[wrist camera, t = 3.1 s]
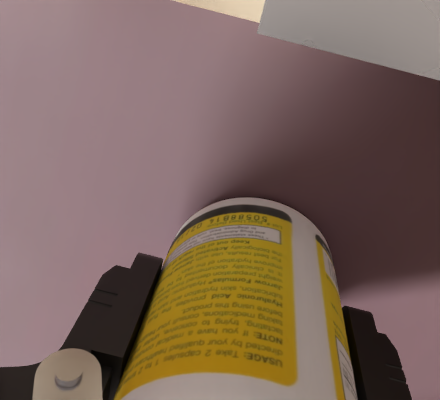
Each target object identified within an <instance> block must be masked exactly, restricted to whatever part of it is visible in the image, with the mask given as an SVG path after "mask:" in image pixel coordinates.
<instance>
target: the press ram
mask: <svg viewBox="0 0 440 400" xmlns="http://www.w3.org/2000/svg"><path fill="white" fill-rule="evenodd" d="M257 34H261V35H265V36H269V37H273V38H277V39H281V40H285V41H288V42H292V43H296V44H300V45H304V46H308V47H312V48H316V49H319V50H323V51H327V52H331V53H335V54H339V55H343V56H347V57H351V58H354V59H358V60H362V61H366V62H370V63H374V64H378V65H382V66H385V67H389V68H393V69H397V70H401V71H405V72H409V73H413V74H416V75H420V76H424V77H428V78H432V79H436V80H440V0H265V3H264V7H263V11H262V15H261V19H260V23H259V27H258V31H257Z"/></svg>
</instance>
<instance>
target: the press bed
mask: <svg viewBox="0 0 440 400" xmlns="http://www.w3.org/2000/svg"><path fill="white" fill-rule="evenodd" d="M173 1H177V2H181V3H184V4H188V5H192V6H196V7H200V8H204V9H208V10H212V11H215V12H219V13H223V14H227V15H231V16H235V17H239V18H243V19H247V20H250V21H254V22H258V23H260V19H261V15H262V11H263V7H264V3H265V0H173Z"/></svg>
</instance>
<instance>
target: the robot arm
mask: <svg viewBox="0 0 440 400" xmlns="http://www.w3.org/2000/svg"><path fill="white" fill-rule="evenodd" d="M162 262H163V259H162V258H158V257H154V256H151V255H147V254H143V253H138V254H137V256H136V258H135V260H134V262H133V264H132V266H131V268H130V269H129V268H125V267H121V266H117V265H116V266H114V267H113V268H111V269H110V270H109V271H107V272H106V273H105V274H103V275H102V277H101V278H100V280H99V282H98V284H97V286H96V287H95V290H94V291H93V293H92V294H91V296H90V298H89V300H88V302H87V303H86V305H85V307H84V309H83V310H82V312H81V314H80V316H79V317H78V319H77V321H76V323H75V325H74V326H73V328H72V330H71V332H70V333H69V335H68V337H67V339H66V340H65V342H64V344H63V345H62V347H61V348H60V349H59V350H58V351H57V352H55V353H53V354H51V355H49V356H48V357H47V358H45V359H44V360H43V361H42V362H40V363H37V364H34V365H29V366H19V367H0V400H113V398H114V395H115V393H116V390H117V388H118V385H119V383H120V380H121V377H122V375H123V372H124V369H125V367H126V364H127V361H128V359H129V356H130V353H131V351H132V348H133V345H134V342H135V340H136V337H137V334H138V332H139V329H140V327H141V324H142V321H143V318H144V315H145V313H146V310H147V308H148V305H149V302H150V299H151V297H152V294H153V291H154V289H155V286H156V283H157V281H158V278H159V276H160V273H161V268H162ZM342 312H343V318H344V324H345V330H346V336H347V342H348V348H349V354H350V359H351V364H352V369H353V375H354V381H355V387H356V393H357V398H358V400H412V398H411V395H410V391H409V388H408V385H407V384H406V378H405V375H404V372H403V370H402V365H401V362H400V359H399V356H398V352H397V350H396V349H395V347H394V346H393V344H392V343H391V341H390V340H389V339H388V337H387V336H386V334H382V333H378V332H377V330H376V326H375V322H374V318H373V315H372V313H371V312H368V311H364V310H360V309H356V308H352V307H349V306H344V307H342Z"/></svg>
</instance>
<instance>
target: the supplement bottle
mask: <svg viewBox="0 0 440 400" xmlns="http://www.w3.org/2000/svg"><path fill="white" fill-rule="evenodd" d="M113 400H358V398H357V393H356V387H355V381H354V375H353V369H352V364H351V359H350V354H349V348H348V342H347V336H346V330H345V324H344V318H343V312H342V308H341V303H340V296H339V290H338V285H337V279H336V274H335V268H334V264H333V260H332V256H331V252H330V249H329V247H328V244H327V242H326V240H325V238H324V237H323V235H322V234H321V232H320V231H319V230H318V228H317V227H316V226H315V225H314V224H313V223H312V222H311V221H310V220H309V219H307V218H306V217H305V216H304V215H302V214H301V213H299V212H298V211H296V210H294V209H292V208H290V207H288V206H286V205H283V204H281V203H278V202H275V201H271V200H266V199H261V198H250V197H245V198H233V199H227V200H222V201H219V202H216V203H214V204H211V205H209V206H207V207H205V208H203V209H201V210H200V211H198V212H197V213H195V214H194V215H193V216H191V217H190V218H189V219H188V220H187V221H186V222H185V223H184V225H183V226H182V227H181V229H180V230H179V232H178V233H177V235H176V237H175V239H174V241H173V243H172V245H171V247H170V249H169V251H168V254H167V257H166V259H165V262H164V264H163V267H162V270H161V273H160V276H159V278H158V281H157V283H156V286H155V289H154V291H153V294H152V297H151V299H150V302H149V305H148V308H147V310H146V313H145V315H144V318H143V321H142V324H141V327H140V329H139V332H138V334H137V337H136V340H135V342H134V345H133V348H132V351H131V353H130V356H129V359H128V361H127V364H126V367H125V369H124V372H123V375H122V377H121V380H120V383H119V385H118V388H117V390H116V393H115V395H114V398H113Z"/></svg>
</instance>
